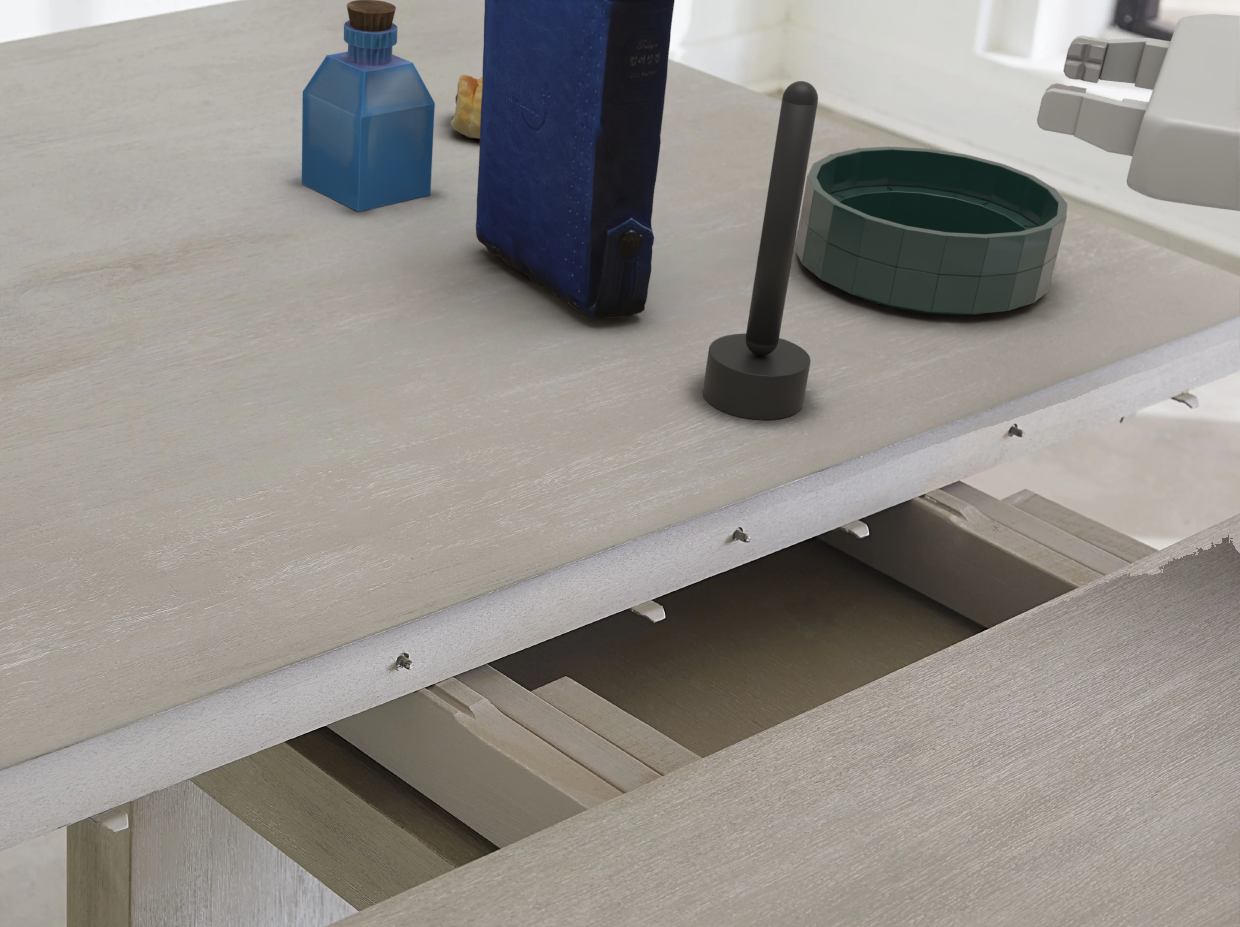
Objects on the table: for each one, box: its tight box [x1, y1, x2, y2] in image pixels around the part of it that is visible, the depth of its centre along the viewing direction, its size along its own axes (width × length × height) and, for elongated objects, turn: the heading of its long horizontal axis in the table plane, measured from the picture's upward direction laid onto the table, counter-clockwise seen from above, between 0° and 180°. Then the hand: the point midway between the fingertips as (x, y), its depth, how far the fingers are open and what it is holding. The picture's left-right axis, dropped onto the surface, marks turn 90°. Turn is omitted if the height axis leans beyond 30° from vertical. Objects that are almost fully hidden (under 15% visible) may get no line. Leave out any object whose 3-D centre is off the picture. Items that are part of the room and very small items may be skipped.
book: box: [475, 0, 676, 319], centre depth 111 cm, size 14×5×20 cm, turn 32°
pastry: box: [450, 74, 483, 140], centre depth 139 cm, size 9×7×4 cm
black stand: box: [702, 80, 819, 421], centre depth 101 cm, size 6×6×17 cm
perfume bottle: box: [301, 0, 436, 213], centre depth 125 cm, size 6×6×12 cm
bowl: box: [794, 146, 1069, 316], centre depth 121 cm, size 16×16×6 cm
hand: (1054, 79), depth 91 cm, fingers open, 8 cm apart
